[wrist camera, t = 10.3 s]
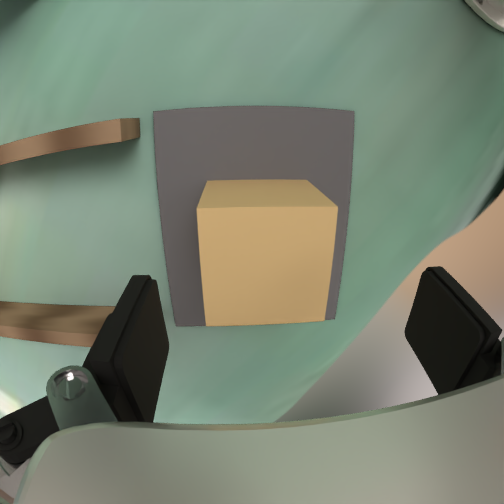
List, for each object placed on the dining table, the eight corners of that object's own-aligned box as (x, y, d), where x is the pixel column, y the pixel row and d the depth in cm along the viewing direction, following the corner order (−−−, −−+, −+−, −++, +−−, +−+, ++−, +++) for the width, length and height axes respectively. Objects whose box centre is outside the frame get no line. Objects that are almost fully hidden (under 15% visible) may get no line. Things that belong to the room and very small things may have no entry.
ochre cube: (306, 179, 19) (338, 206, 13) (301, 268, 21) (324, 320, 16) (207, 180, 18) (196, 208, 13) (211, 270, 21) (206, 326, 15)
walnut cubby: (139, 118, 17) (119, 118, 13) (163, 319, 23) (154, 350, 19) (-53, 166, 16) (-79, 176, 12) (-16, 310, 21) (-34, 330, 18)
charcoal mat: (351, 111, 17) (354, 111, 17) (333, 316, 23) (334, 319, 23) (154, 111, 17) (153, 111, 16) (176, 323, 23) (175, 326, 22)
